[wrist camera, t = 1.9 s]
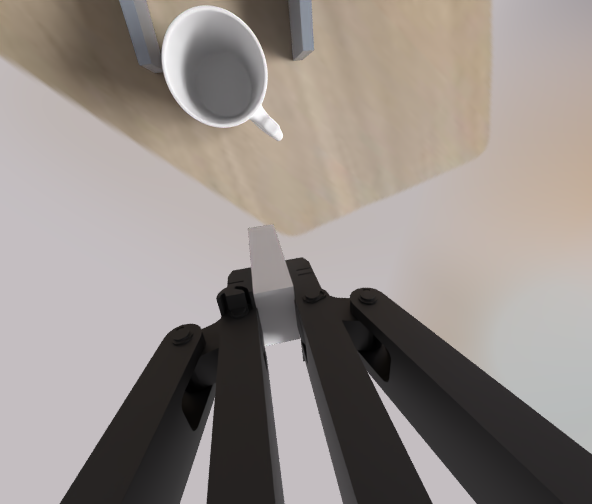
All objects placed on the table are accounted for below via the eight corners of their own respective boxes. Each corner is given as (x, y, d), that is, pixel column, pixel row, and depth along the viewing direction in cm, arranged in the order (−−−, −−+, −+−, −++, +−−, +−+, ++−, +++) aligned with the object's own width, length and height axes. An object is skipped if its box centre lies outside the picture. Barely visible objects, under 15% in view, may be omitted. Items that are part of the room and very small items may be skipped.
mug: (177, 87, 28) (139, 71, 17) (217, 29, 26) (203, -27, 16) (253, 156, 32) (260, 177, 21) (291, 110, 30) (319, 108, 20)
